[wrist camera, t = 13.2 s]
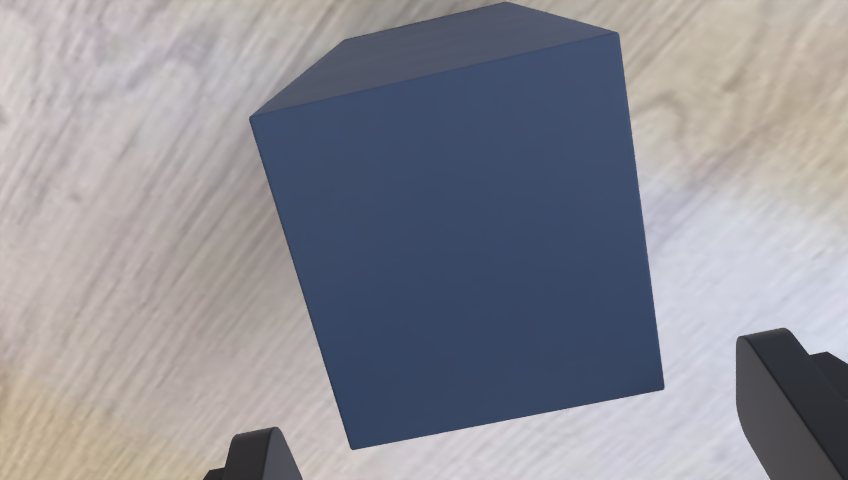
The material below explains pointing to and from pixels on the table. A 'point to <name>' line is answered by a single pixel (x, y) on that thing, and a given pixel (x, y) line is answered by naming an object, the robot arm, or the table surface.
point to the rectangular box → (466, 221)
